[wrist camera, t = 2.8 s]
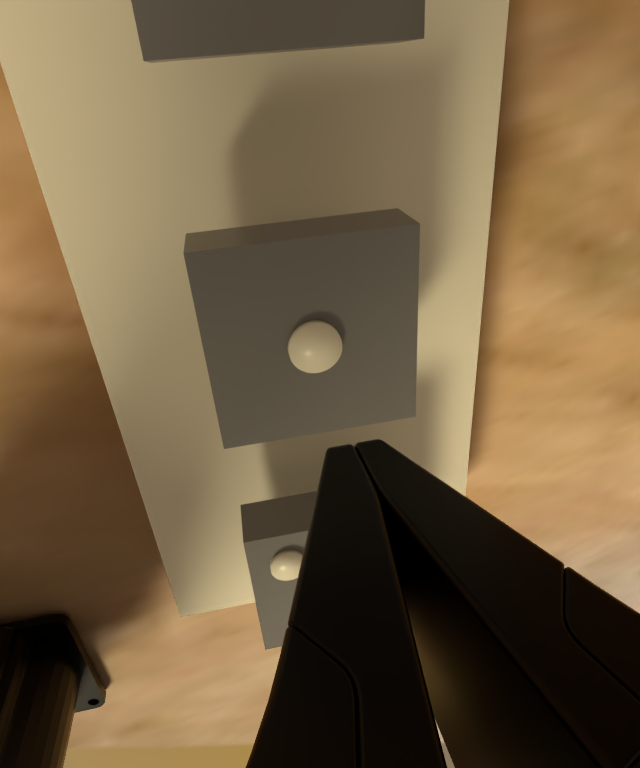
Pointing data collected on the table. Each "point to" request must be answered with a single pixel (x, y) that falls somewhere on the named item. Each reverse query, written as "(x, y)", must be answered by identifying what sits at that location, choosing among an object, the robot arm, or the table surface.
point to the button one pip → (308, 323)
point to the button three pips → (275, 557)
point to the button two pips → (270, 26)
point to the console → (246, 208)
